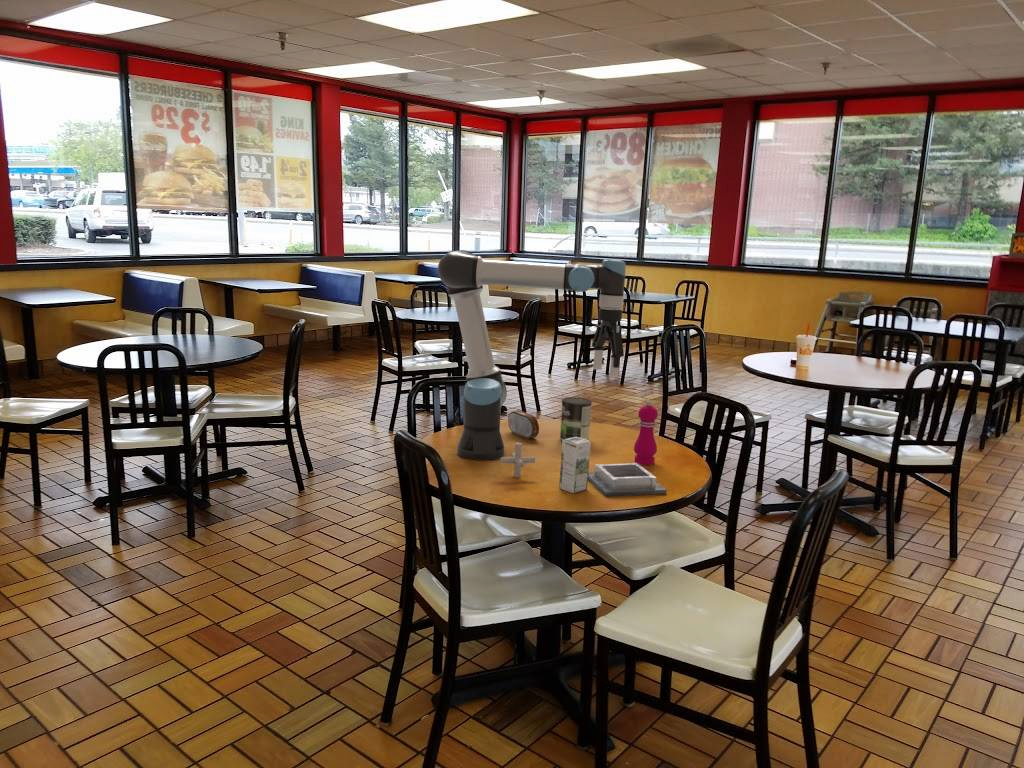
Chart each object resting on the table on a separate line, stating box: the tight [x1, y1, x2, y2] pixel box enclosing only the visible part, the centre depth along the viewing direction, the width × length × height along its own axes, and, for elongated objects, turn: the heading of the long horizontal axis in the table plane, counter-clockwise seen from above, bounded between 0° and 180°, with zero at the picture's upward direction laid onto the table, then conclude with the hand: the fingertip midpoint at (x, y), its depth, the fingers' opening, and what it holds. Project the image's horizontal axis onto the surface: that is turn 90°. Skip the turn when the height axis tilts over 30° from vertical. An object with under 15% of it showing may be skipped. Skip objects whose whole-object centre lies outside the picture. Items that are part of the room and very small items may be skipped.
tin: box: [507, 409, 540, 440], centre depth 264 cm, size 15×3×8 cm, turn 37°
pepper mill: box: [633, 400, 659, 466], centre depth 237 cm, size 7×7×20 cm
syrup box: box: [558, 437, 592, 494], centre depth 210 cm, size 6×6×14 cm
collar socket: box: [588, 462, 668, 498], centre depth 216 cm, size 18×18×4 cm
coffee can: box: [559, 396, 593, 441], centre depth 261 cm, size 10×10×14 cm
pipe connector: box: [499, 442, 536, 478], centre depth 219 cm, size 10×10×10 cm
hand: (605, 373), depth 246 cm, fingers open, 13 cm apart
